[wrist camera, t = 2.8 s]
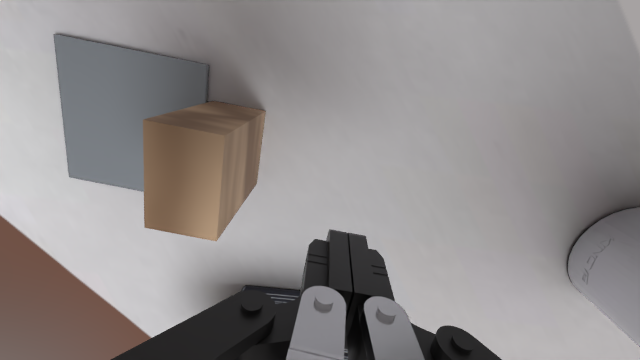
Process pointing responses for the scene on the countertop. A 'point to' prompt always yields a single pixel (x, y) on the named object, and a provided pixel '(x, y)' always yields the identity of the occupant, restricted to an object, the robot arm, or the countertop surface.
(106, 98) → the mat
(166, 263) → the countertop surface
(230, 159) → the walnut block
